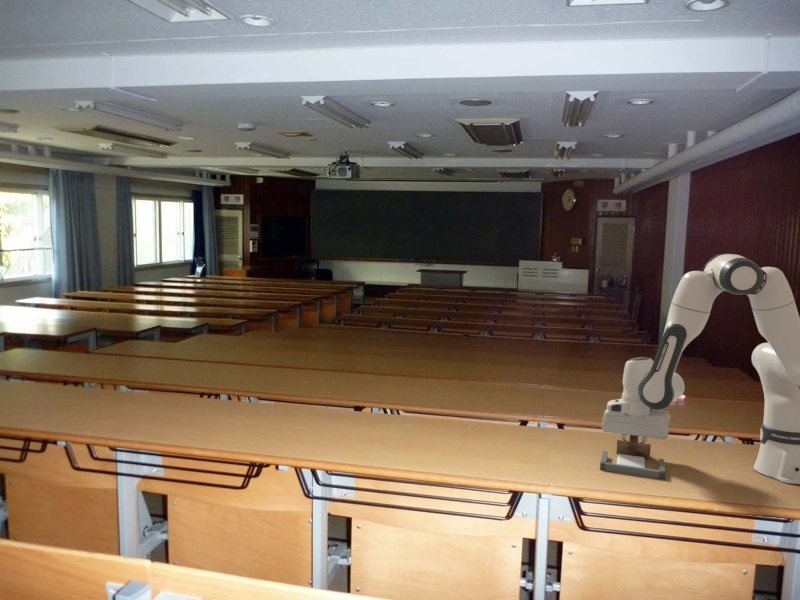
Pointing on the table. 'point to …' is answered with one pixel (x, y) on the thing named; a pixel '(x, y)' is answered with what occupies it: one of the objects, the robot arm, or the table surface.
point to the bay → (633, 468)
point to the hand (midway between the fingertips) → (633, 448)
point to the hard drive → (631, 460)
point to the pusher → (633, 447)
